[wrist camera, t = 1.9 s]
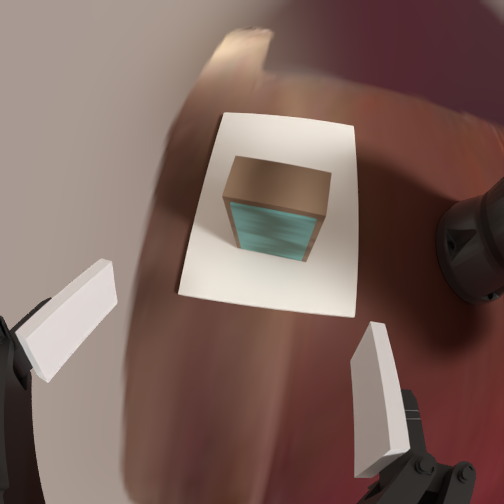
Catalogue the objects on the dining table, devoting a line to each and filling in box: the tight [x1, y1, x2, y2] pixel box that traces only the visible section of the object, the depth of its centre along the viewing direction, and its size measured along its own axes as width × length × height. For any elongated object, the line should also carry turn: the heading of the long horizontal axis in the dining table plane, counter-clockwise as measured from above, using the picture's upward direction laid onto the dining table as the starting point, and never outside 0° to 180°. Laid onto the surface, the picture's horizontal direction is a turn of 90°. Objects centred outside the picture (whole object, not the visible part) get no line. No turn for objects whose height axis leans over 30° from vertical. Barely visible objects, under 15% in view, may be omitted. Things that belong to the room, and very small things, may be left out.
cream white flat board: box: [178, 113, 359, 318], centre depth 35 cm, size 28×20×1 cm
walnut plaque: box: [222, 155, 332, 262], centre depth 27 cm, size 8×4×12 cm, turn 77°
